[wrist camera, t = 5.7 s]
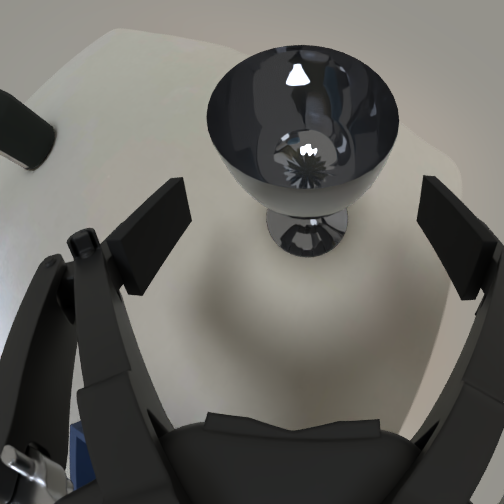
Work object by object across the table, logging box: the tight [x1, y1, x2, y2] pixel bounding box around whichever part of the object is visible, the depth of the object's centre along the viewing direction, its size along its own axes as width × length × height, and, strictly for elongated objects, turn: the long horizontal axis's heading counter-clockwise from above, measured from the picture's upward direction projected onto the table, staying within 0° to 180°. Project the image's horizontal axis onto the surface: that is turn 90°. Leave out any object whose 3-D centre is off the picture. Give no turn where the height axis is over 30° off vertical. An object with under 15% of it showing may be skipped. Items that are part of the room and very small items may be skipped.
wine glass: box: [207, 45, 399, 257], centre depth 17 cm, size 8×8×15 cm
